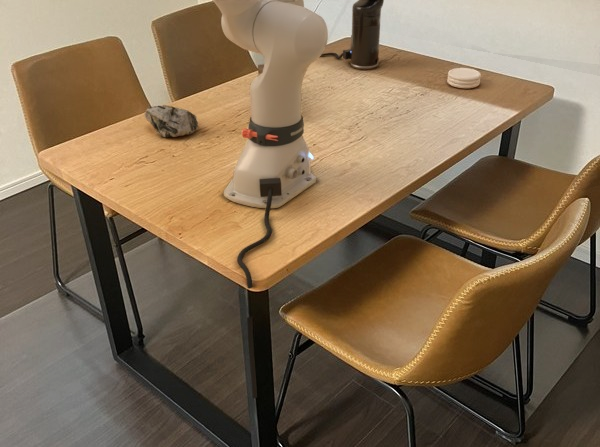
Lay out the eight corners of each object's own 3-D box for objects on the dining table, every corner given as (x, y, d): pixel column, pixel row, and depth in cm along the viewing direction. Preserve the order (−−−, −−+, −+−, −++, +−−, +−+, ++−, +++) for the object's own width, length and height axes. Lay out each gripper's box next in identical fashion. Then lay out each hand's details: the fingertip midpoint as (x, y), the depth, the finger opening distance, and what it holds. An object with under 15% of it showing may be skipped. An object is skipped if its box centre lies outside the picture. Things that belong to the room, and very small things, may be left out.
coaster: (442, 78, 197) (444, 68, 195) (473, 77, 198) (474, 66, 196) (452, 89, 189) (453, 78, 187) (484, 88, 189) (486, 77, 188)
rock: (203, 130, 165) (200, 105, 161) (171, 142, 159) (167, 116, 155) (172, 117, 174) (168, 92, 171) (140, 127, 168) (136, 102, 165)
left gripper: (297, -25, 160) (298, 29, 168) (222, -17, 153) (227, 39, 160) (308, -21, 156) (308, 34, 163) (231, -12, 148) (235, 45, 156)
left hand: (267, 37), depth 162 cm, fingers open, 8 cm apart
